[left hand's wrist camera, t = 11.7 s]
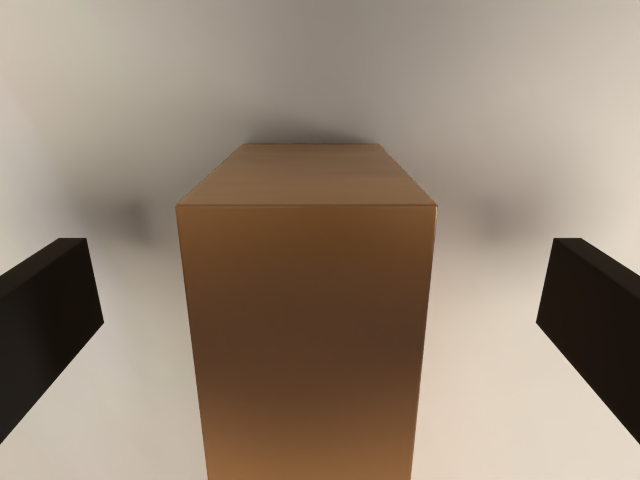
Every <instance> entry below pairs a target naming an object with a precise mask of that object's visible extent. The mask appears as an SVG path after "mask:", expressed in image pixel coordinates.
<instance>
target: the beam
mask: <svg viewBox="0 0 640 480" xmlns="http://www.w3.org/2000/svg"><path fill="white" fill-rule="evenodd" d="M175 208H176V217H177V225H178V233H179V242H180V250H181V258H182V267H183V275H184V283H185V292H186V300H187V308H188V317H189V325H190V334H191V342H192V350H193V359H194V367H195V375H196V384H197V392H198V400H199V409H200V417H201V425H202V434H203V442H204V450H205V459H206V467H207V475H208V480H411V471H412V461H413V451H414V441H415V431H416V421H417V411H418V401H419V391H420V381H421V371H422V361H423V351H424V341H425V330H426V320H427V310H428V300H429V290H430V280H431V270H432V260H433V250H434V240H435V230H436V220H437V210H438V206H437V204H436V203H435V202H434V201H433V200H432V199H431V198H430V197H429V196H428V195H427V193H426V192H425V191H424V190H423V189H422V188H421V187H420V186H419V185H418V184H417V183H416V182H415V181H414V180H413V179H412V178H411V177H410V176H409V175H408V174H407V173H406V172H405V171H404V170H403V169H402V168H401V166H400V165H399V164H398V163H397V162H396V161H395V160H394V159H393V158H392V157H391V156H390V155H389V154H388V153H387V152H386V151H385V150H384V149H383V148H382V147H381V146H380V145H379V144H243V145H241V146H240V147H239V148H238V149H237V150H236V151H235V152H234V153H233V154H232V155H230V156H229V157H228V158H227V159H226V160H225V161H224V162H223V163H222V164H221V165H219V166H218V167H217V168H216V169H215V170H214V171H213V172H212V173H211V174H210V175H208V176H207V177H206V178H205V179H204V180H203V181H202V182H201V183H200V184H199V185H197V186H196V187H195V188H194V189H193V190H192V191H191V192H190V193H189V194H188V195H186V196H185V197H184V198H183V199H182V200H181V201H180V202H179V203H178V204H177V205H176V206H175Z"/></svg>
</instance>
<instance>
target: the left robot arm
mask: <svg viewBox="0 0 640 480" xmlns="http://www.w3.org/2000/svg"><path fill="white" fill-rule="evenodd" d="M103 323H104V320H103V315H102V310H101V306H100V301H99V296H98V291H97V287H96V282H95V277H94V273H93V268H92V263H91V258H90V254H89V249H88V244H87V239H86V238H58V239H57V240H55V241H54V242H52V243H51V244H49V245H47V246H46V247H44V248H43V249H41V250H40V251H38V252H37V253H35V254H33V255H32V256H30V257H29V258H27V259H26V260H24V261H23V262H21V263H20V264H18V265H16V266H15V267H13V268H12V269H10V270H9V271H7V272H6V273H4V274H2V275H1V276H0V444H1V443H2V442H3V441H4V439H5V438H6V437H7V436H8V435H9V434H10V432H11V431H12V430H13V429H14V428H15V427H16V425H17V424H18V423H19V422H20V421H21V420H22V418H23V417H24V416H25V415H26V414H27V412H28V411H29V410H30V409H31V408H32V407H33V405H34V404H35V403H36V402H37V401H38V400H39V398H40V397H41V396H42V395H43V394H44V393H45V391H46V390H47V389H48V388H49V387H50V386H51V384H52V383H53V382H54V381H55V380H56V378H57V377H58V376H59V375H60V374H61V373H62V371H63V370H64V369H65V368H66V367H67V366H68V364H69V363H70V362H71V361H72V360H73V359H74V357H75V356H76V355H77V354H78V353H79V352H80V350H81V349H82V348H83V347H84V346H85V344H86V343H87V342H88V341H89V340H90V339H91V337H92V336H93V335H94V334H95V333H96V332H97V330H98V329H99V328H100V327H101V326H102V325H103ZM536 323H537V325H538V326H539V327H540V328H541V329H542V330H543V332H544V333H545V334H546V335H547V336H548V337H549V339H550V340H551V341H552V342H553V343H554V344H555V346H556V347H557V348H558V349H559V350H560V352H561V353H562V354H563V355H564V356H565V357H566V359H567V360H568V361H569V362H570V363H571V364H572V366H573V367H574V368H575V369H576V370H577V371H578V373H579V374H580V375H581V376H582V377H583V378H584V380H585V381H586V382H587V383H588V384H589V386H590V387H591V388H592V389H593V390H594V391H595V393H596V394H597V395H598V396H599V397H600V398H601V400H602V401H603V402H604V403H605V404H606V405H607V407H608V408H609V409H610V410H611V411H612V412H613V414H614V415H615V416H616V417H617V418H618V420H619V421H620V422H621V423H622V424H623V425H624V427H625V428H626V429H627V430H628V431H629V432H630V434H631V435H632V436H633V437H634V438H635V439H636V441H637V442H638V443H639V444H640V276H639V275H638V274H636V273H634V272H633V271H631V270H630V269H628V268H627V267H625V266H624V265H622V264H620V263H619V262H617V261H616V260H614V259H613V258H611V257H610V256H608V255H607V254H605V253H603V252H602V251H600V250H599V249H597V248H596V247H594V246H593V245H591V244H589V243H588V242H586V241H585V240H583V239H582V238H554V239H553V244H552V249H551V254H550V258H549V263H548V268H547V273H546V277H545V282H544V287H543V291H542V296H541V301H540V306H539V310H538V315H537V320H536Z"/></svg>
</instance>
